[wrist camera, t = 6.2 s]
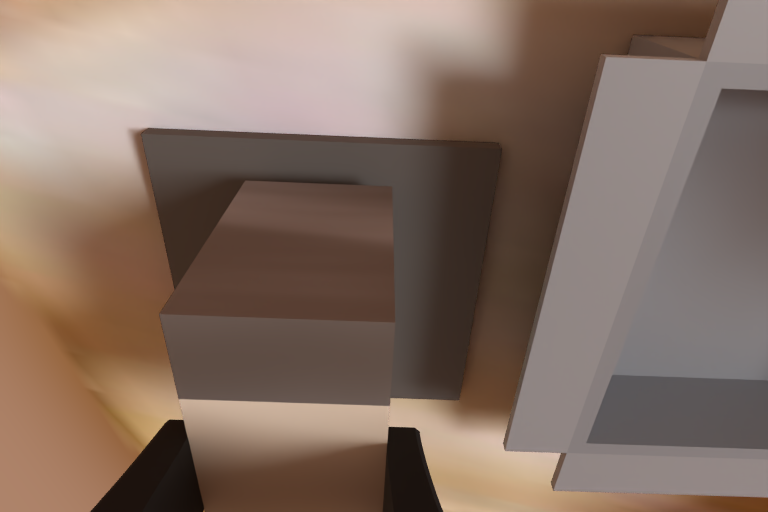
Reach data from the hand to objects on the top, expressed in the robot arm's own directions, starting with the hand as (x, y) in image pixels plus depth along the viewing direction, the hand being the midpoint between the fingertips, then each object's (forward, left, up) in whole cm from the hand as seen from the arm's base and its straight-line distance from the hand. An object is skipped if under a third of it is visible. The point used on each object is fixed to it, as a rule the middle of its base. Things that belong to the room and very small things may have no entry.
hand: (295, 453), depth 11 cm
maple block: (0, 0, -5) cm, 5 cm away
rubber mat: (0, 0, -7) cm, 7 cm away
